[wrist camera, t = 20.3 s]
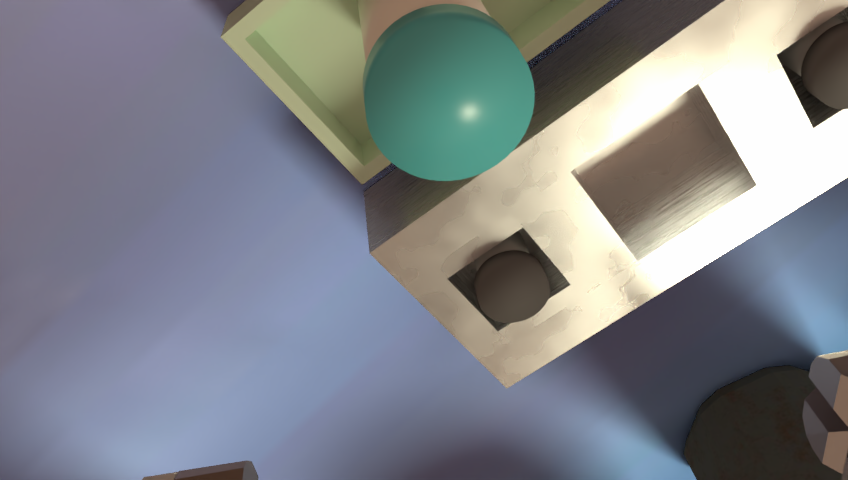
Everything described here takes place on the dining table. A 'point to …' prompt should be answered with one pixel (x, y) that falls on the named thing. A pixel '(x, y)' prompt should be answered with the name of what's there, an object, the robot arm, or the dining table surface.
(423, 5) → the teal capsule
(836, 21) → the dark brown rounded plug
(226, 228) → the dining table surface
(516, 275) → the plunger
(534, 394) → the dining table surface
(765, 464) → the bottle
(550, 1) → the tray
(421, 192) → the white slotted holder
